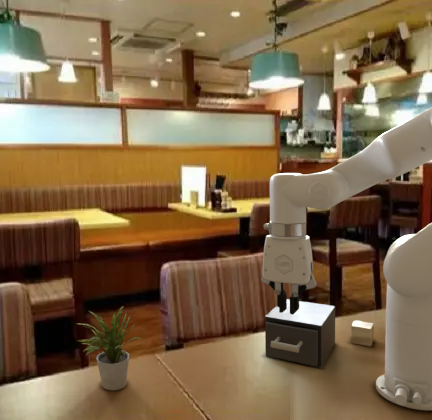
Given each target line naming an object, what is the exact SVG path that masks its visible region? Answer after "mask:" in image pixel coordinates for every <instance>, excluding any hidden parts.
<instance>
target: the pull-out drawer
mask: <svg viewBox="0 0 432 420" xmlns="http://www.w3.org/2000/svg"><path fill="white" fill-rule="evenodd" d="M264 329H265V330H264V333H265V334H264V335H265V336H264V337H265V338H264V339H265V341H264V342H265V343H266V347H265V357H269V356H271V357H270V358H273V357H276V358H275V359H278V358H280V359H279V360H282V359H285V360H284V361H287V360H289V361H288V362H292V361H294V362H293V363H296V362H299V363H298V364H301V363H303V364H302V365H305V364H308V365H307V366H310V365H313V366H312V367H315V366H317V365H318V330H317V329H314V328H308V327H303V326H297V325H291V324H285V323H279V322H273V321H272V322H266V323H265V322H264Z"/></svg>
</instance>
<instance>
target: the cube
mask: <svg viewBox="0 0 432 420" xmlns="http://www.w3.org/2000/svg"><path fill="white" fill-rule="evenodd" d="M350 328H351V330H350V331H351V333H350V337H351V338H350V343H351V344H354V345H360V346H366V347H372V345H373V343H374V331H375V324H374V322H369V321H362V320H356V319H355V320H354V321H353V322H352V324H351V327H350Z"/></svg>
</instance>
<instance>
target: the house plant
mask: <svg viewBox="0 0 432 420" xmlns="http://www.w3.org/2000/svg"><path fill="white" fill-rule="evenodd" d="M123 309H124V305H122V306H121V307H120V308H119V309H118V311H117V312H114V313H113V315H112V318H111V321H110V328H109V327H108V325H107V323H106V321H105V319H104V317H102V316H99V315H98V314H96V313H95V312H93V311H90V310H88V312H89V313H90V314H92V315H93V316H94V317H95V319H96V321H97V323H98V325H99V328H100V329H101V330H102V332H103V333H102V332H101V331H99V330H98V328H97V327H94V326H93V325H92V324H88V323H77V325H83V326H86V327H87V328H88V329H91V332H93V334H94V335H95V336H92V337H91V338H88V339H85V338H84V339H78V340H76V341H77V342H80V343H81V345H88V346H87V347H86V348H85V349H84V350H83V351H82V352H83V353H84V352H85V351H87V352H86V354H85V356H87V355H89V354H91V353H93V352H95V351H98V352H99V354H98V355H96V363H97V368H98V372H99V376H100V382H101V386H102V388H103V389H105V390H107V391H118V390H121V389H123V388H125V387H126V386H127V381H128V371H129V363H130V362H129V361H130V353H129V352H127V351H126V350H123V349H124V347H125V346H126V345H127V344H128V343H129V342H130V341H132V340H135V339H141V340H142V338H141V337H139V336H136V337H135V336H134V337H132V338H130V339H128V340H127V341H126V342H125V343H124V344H123V342H124V341H125V337H126V336H127V334H129V332H130V331H131V330H132V328H133V327H134V326H135V325H136V323H135V324H133V325H132V326H130V327H129V329H128V330H127V327H128V325H129V322H130V319H131V316H128V319H127V311H125V314H124V316H123V318H122V314H123V312H124V310H123ZM121 318H122V321H121ZM126 319H127V320H126ZM120 321H121V325H120ZM119 326H120V327H119ZM92 328H93V329H92ZM126 330H127V331H126ZM125 331H126V332H125ZM122 344H123V345H122Z"/></svg>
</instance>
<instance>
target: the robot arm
mask: <svg viewBox="0 0 432 420" xmlns="http://www.w3.org/2000/svg"><path fill="white" fill-rule="evenodd" d="M431 161H432V106H431V107H429V108H427V109H425V110H423V111H422V112H420V113H418V114H416V115H415V116H413V117H411V118H409V119H407V120H406V121H404V122H402V123H400V124H398V125H397V126H395V127H392V128H390V129H389V130H387V131H385V132H383V133H382V134H380V135H379V136H377V137H376V138H375V139H374V140H372V141H371V143H369V145H367V146H366V147H364V149H362V150H360V151H359V152H357V153H356V154H354V155H353V156H351V157H349V158H347V159H346V160H344V161H342V162H340V163H338V164H337V165H334V166H333V167H331V168H329V169H326V170H323V171H319V172H314V173H308V174H302V173H299V172H283V173H274V174H273V175H271V177H269V222H268V223H263V230H266V231H268V234H267V235H266V236H265V240H264V246H263V254H262V255H263V256H262V268H261V269H262V271H261V272H262V275H261V278H260V281H261V282H262V283H264V284H266V285H269V286H270V288H271V289H272V290H273V291H274V293H275V295H276V302H277V303H276V306H277V307H279V312H280V313H282V312H284V311H285V310H286V309H287V299H288V297H287V296H288V295H287V294H288V293H287V291H286V290H285V284H290V285H291V295H290V296H289V300H290V313H291V314H294V313H295V312H296V311H297V310H298V309H299V301H300V295H301V294H302V293H303V292H304V291H307V290H311V289H314V288H316V287H317V286H318V283H317V281H316V279H315V276H314V260H313V259H314V258H313V250H312V244H311V240H310V236H309V235H307V208H308V209H315V210H328V209H331V208H333V207H335V206H337V205H338V204H340V203H341V202H343V201H345V200H348V199H350V198H351V197H354V196H355V195H357V194H359V193H362V192H363V191H365V190H367V189H369V188H372V187H373V186H375V185H378V184H379V183H382V182H384V181H387V180H390V179H395V178H397V177H400V176H403V175H404V174H407V173H408V172H410V171H411V172H412V170H415V169H417V168H418V167H421V166H423V165H424V164H427V163H429V162H431ZM382 272H383V278H384V280H385V282H386V298H385V299H386V301H385V302H386V303H385V337H384V338H385V341H384V345H385V346H384V374H382V375H379V376H378V377H377V378H376V380H375V389H376V391H377V392H378V394H379V395H381V396H382V397H383V398H384V399H386V400H387V401H389V402H391V403H393V404H395V405H398V406H401V407H403V408H404V407H405V408H407V409H412V410H417V411H427V412H428V411H432V222H431V223H428V224H427V225H426V226H425V227H423V228H422V229H421V230H419V231H418V232H416V233H410V234H405V235H403V236H400V237H399V238H397V239H396V240H395V241H393V242H392V244H390V246H389V248H388V250H387V253H386V255H385V258H384V260H383V265H382Z"/></svg>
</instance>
